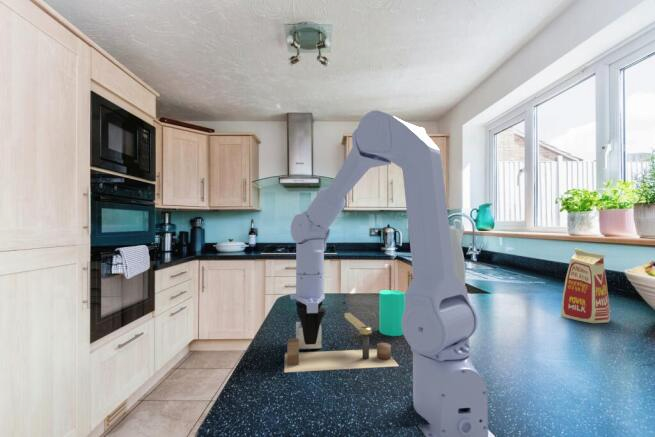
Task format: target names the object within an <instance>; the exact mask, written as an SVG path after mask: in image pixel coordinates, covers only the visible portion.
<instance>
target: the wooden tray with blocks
mask: <svg viewBox="0 0 655 437" xmlns="http://www.w3.org/2000/svg"><path fill="white" fill-rule="evenodd" d="M361 335H362V337H361V338H362V349H349V350H345V349H344V350H327V351H325V350H324V351H307V352H306V351H305V352H300V349H299V340H298V338H296V337H295V338H287V349H286V350H287V351H286V352H285V353H284V366H283V367H284V368H283V372H284V373H301V372H303V373H304V372H318V371H336V370H338V371H339V370H354V369H357V370H358V369H374V368H392V367H395V368H396V367H400V365H399V364H398V363H397V361H396V360H395V359H394V358H393V357H392V345H391V344H390V343H388V342H378V343H377V344H376V348H370V335H363V334H361Z"/></svg>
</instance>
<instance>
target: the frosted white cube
mask: <svg viewBox="0 0 655 437" xmlns="http://www.w3.org/2000/svg"><path fill="white" fill-rule="evenodd" d="M321 324H322V323H320V326H319V331H318V337H317V341H316V344H309V345H306V344H305V341H304V336H303V328H302V324H301V321H296V322H295V338H298V340H299V350H312V349H322V347H323V346H322V343H323V342H322V337H323V336H322V331H323V330H322V325H321Z"/></svg>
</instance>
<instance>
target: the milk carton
mask: <svg viewBox="0 0 655 437" xmlns="http://www.w3.org/2000/svg"><path fill="white" fill-rule="evenodd" d="M574 251H575V253H574V254H573V255H572V256H571V258H570V260H569V265H568V269H567V272H566V276H565V281H564V287H563V293H562V299H561V300H562V302H561V311H560V317H561V318H566V319H571V320H575V321H580V322H584V323H590V324H603V323H604V324H605V323H609V322H610V321H611V315H610V313H611V310H610V300H609V292H608V283H607V276H606V268H605V264H604V263H605V261H604V258H605V257H607V254H600V253H594V252H589V251H585V250H583V249H579V248H576V247H575V248H574Z"/></svg>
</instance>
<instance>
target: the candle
mask: <svg viewBox="0 0 655 437" xmlns="http://www.w3.org/2000/svg"><path fill="white" fill-rule="evenodd" d="M405 293H406V292H402V291H400V290H389V289H384V290H383V289H382V290H380V291H379V292H378V297H379V298H378V299H379V300H378V302H379V303H378V310H379V314H378V316H379V319H378V320H379V325H378V326H379V329H378V332H380V334H382V335H385V336H391V337H400V336H404V334H403V331H402V316H403V313H404V310H405Z"/></svg>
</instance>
